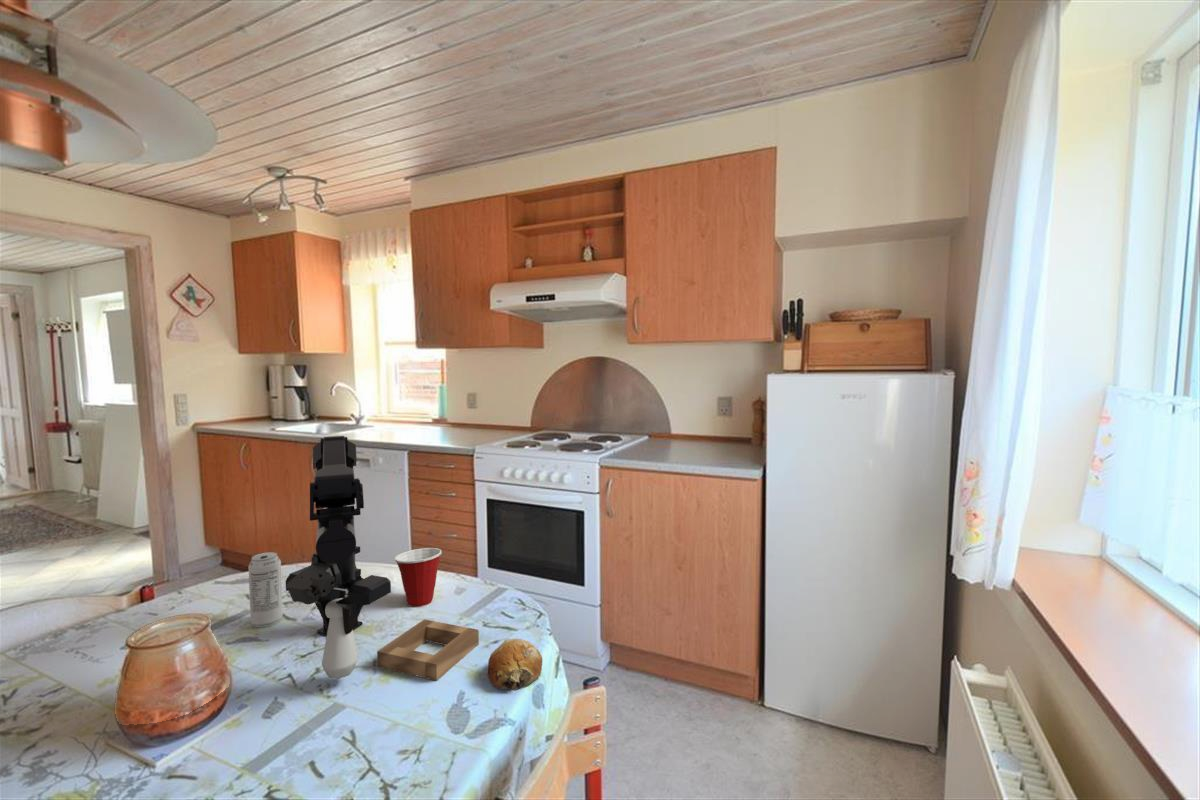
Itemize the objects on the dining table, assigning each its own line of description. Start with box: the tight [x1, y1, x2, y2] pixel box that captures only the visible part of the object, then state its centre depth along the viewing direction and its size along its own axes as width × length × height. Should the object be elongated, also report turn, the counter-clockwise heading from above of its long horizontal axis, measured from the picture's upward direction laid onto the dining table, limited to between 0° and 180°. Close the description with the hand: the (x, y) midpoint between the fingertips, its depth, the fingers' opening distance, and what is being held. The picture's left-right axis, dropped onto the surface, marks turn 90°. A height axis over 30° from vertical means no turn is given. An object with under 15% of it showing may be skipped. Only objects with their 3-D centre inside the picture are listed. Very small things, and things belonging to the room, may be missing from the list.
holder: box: [376, 619, 480, 681], centre depth 102 cm, size 13×13×3 cm
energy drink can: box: [247, 551, 284, 629], centre depth 115 cm, size 6×6×15 cm
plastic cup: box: [394, 547, 442, 608], centre depth 125 cm, size 11×11×12 cm
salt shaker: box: [321, 598, 359, 680], centre depth 92 cm, size 6×6×13 cm
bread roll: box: [487, 638, 543, 691], centre depth 95 cm, size 10×10×8 cm
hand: (339, 631), depth 92 cm, fingers closed on salt shaker, 4 cm apart
